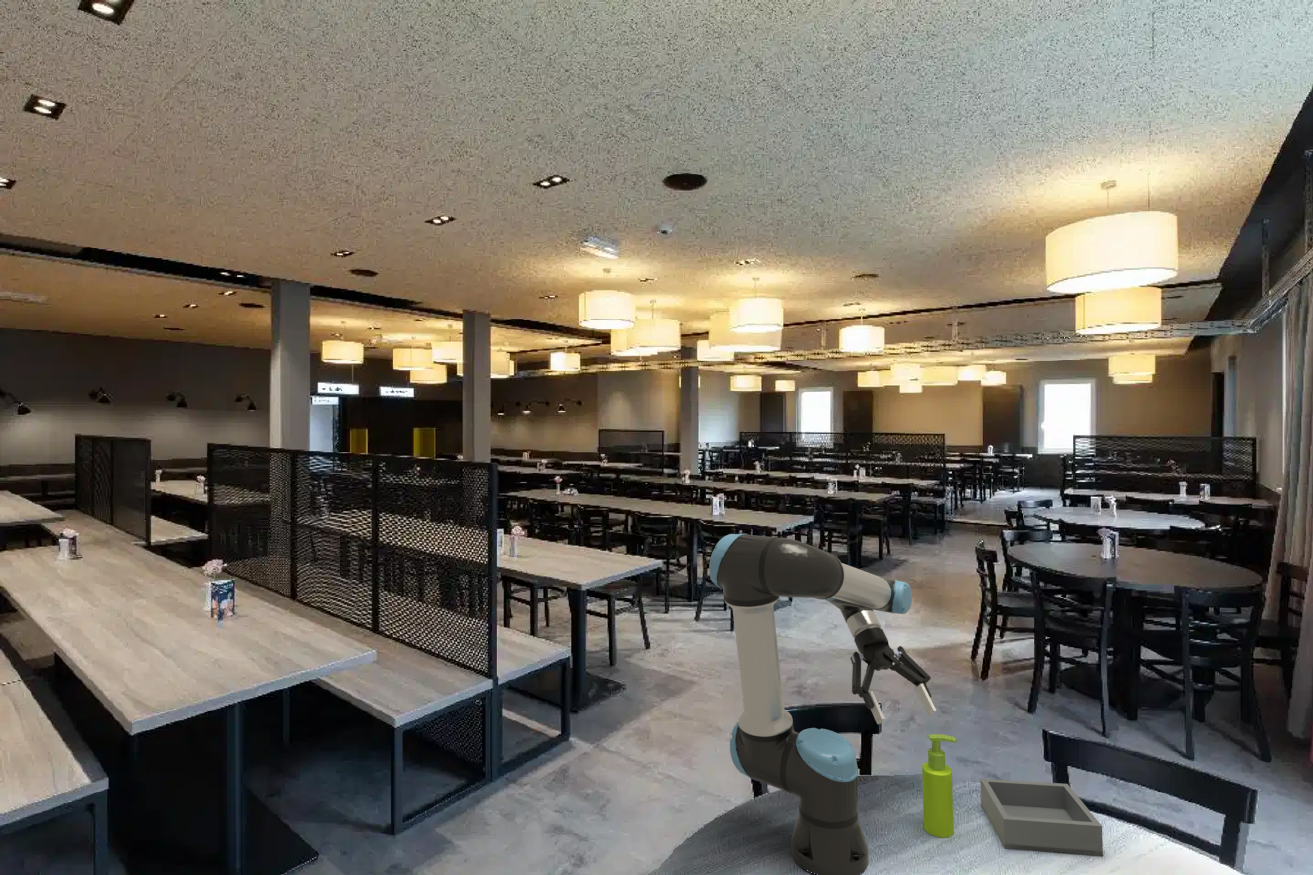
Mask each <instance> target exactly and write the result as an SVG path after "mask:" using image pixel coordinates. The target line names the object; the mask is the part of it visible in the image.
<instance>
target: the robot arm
mask: <svg viewBox="0 0 1313 875" xmlns="http://www.w3.org/2000/svg"><path fill="white" fill-rule="evenodd" d="M708 566H709V572H708V573H709V577H710V580H711V582H712V583H713V585H715V586H716V587H718V588H720V589H722V591H723V598H724V602H725V604H726V605H728V606H729V607H730V608H731V609H732V614H733V623H734V624H733V625H734V632H735V633H734V634H735V642H736V643H735V644H736V650H737V660H738V669H739V670H738V671H739V678H740V685H741V686H740V687H741V697H742V703H743V704H742V705H743V712H742V713H741V714H740V716H738V721H736V723H735V724H734V726H733V728H732V731H731V733H730V734H731V736H732V737H731V738H730V740H729V754H730V758H731V760H732V763H733V765H734V767H735V768H736V770H737V771H738V772H739V773H740V774H742V775H744V776H746V777H748V778H750V779H752V780H754V781H755V782H762V783H764V784H765V785H769V786H771V787H773V788H776V789H779V790H780V791H781V790H782V791H784V792H787V793H789V794H792V795H794V796H796V797H798V815H797V818H796V821H795V825H794V827H793V828H794V829H793V831H792V835H791V837H790V850H791V852H790V853H791V856H792V858H793V860H794V862H795V861H796V862H797V863H796V862H795V863H796V864H797V865H798V866H799V867H800V866H801V867H800V868H802V869H803V870H804V869H805V871H806V870H808V871H809V872H808V871H807V872H808V873H810V872H812V873H815V874H818V875H861V874H862V873H863V872H865V870H866V869H867V867H868V865H869V860H870V859H869V847H868V846H869V845H868V842H867V841H866V837H865V834H864V831H863V829H862V826H861V823H860V820H859V798H858V797H859V796H858V794H859V793H858V787H859V786H858V773H859V767H858V764H857V763H858V762H857V761H858V760H857V754H856V750H855V748H854V747H853V744H852V743H851V742H850V741H849V740H848V739H847V738H846V737H844V736H843V735H841V734H839V733H837V732H835V731H833V730H830V729H826V728H820V729H819V728H816V727H811V728H806V729H803V730H801V731H800V732H797V731H795V729H794V722H793V721H794V720H793V717H792V715H791V713H790V712H789V711H787V710H786V709H785V704H784V703H785V702H784V695H783V694H784V693H783V684H782V676H781V675H782V674H781V667H780V657H779V656H780V655H779V647H778V645H779V644H778V638H777V629H776V628H777V626H776V618H775V608H774V605H776V603H777V602H778V601H779V599H780V597H781V598H807V599H809V598H810V599H811V598H812V599H816V600H825V601H827V602H828V603H830V604H832V605H833V606H834V607H836V608H838V609H839V610H840V612H841V614H842V618H843V619H844V621H845V623H846V625H847V628H848V630H849V632H850V634H851V636H852V638H853V642H854V644H855V645H856V647H857V650H858V651H854V652H853V653H852V654H851V656H850V660H851V664H852V674H851V694H853V695H855V696H856V695H858V697H859V698H861V699H863V702H864V703H865V706H866V708H867V709H868V710H870V711H871V713H872V715H873V718H874V720H875V722H876V724H877V725H881V724H882V723H883V721H885V719H886V717H885V716H884V713H883V711H882V708H881V707H880V704H879V702H878V700H877V698H876V696H875V693H874V691H873V690H871V691H870V687H871V683H872V682H873V681H872V680H873V677H874V674H875V671H876V672H879V671H882V670H885V671H886V670H891V671H893V672H895V673H897V674H899V675H900V676H901V677H902V678H904V679H906V680H907V681H909V682H910V683H911V684H913V685H914V686H916V688H914V690H915V692H916V694H917V696H918V698H919V700H920V701H921V702H920V703H921V704H922V706H923V708H924V709H925V712H926V714H927V716H929V717H931V716H932V715H934V714H935V712H937V708H936V707H935V705H934V703H933V701H932V693H931V692H930V690H929V688H928V686H927V684H928V682H929V681H930V680H931V679H932V678H931V675H929V674H928V673H927V672H926V671H925V670H924V669H923V668H922V667H921V666H920V665H919V664H918V663H917V662H916V661H915V660H914V659H913V658H912V657H911V656H910V655H908V653H907V652H906V650H905V649H904V647H903V646H902V645H899V646H898V647H896V648H891V646H890V645H889V639H888V638H887V635H886V634H885V632H884V630H883V628H882V625H881V623H880V621H879V619H878V617H877V615H876V614H875V612H874V611H878V612H884V613H891V614H894V615H895V614H897V615H898V614H899V615H906V614H907V613H908V612H909V611H910V608H911V607H912V602H913V601H912V600H913V593H912V588H911V586H910V584H909V583H908V582H906V581H900V580H897V579H894V580H892V579H887V578H884V577H881V576H878V575H877V574H876V575H875V574H873V573H870V572H867V571H864V570H862V569H858V568H856V567H854V566H851V565H849V564H845V563H842V562H841V560H840V559H839V558H838V557H837V556H836V555H835V554H832V553H830V552H827V551H824V550H823V549H820V548H818V547H815V546H813V545H810V544H807V543H805V542H802V541H799V540H796V539H792V538H788V537H787V538H786V537H776V536H774V537H773V536H764V535H753V534H748V533H742V534H741V533H738V534H737V533H736V534H735V533H729V534H727V535H725V536H723V537H722V538H721V539H719V541H718V542H717V543H716V545H715V547H714V549H713V550H712V553H711V556H710V560H709V565H708ZM862 662H864V663H865V664H867V666H866V670H865V674H864V677H863V681H862ZM812 873H811V874H812Z"/></svg>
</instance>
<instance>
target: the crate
mask: <svg viewBox="0 0 1313 875" xmlns="http://www.w3.org/2000/svg"><path fill="white" fill-rule="evenodd" d="M979 779H980V780H979V782H980V806H981V808H982V809H983V811H984V813H985V815H986V816H987V819H988V820H989V823H990V824H991V826H992V828H993V830H994V831H995V834H996V835H997V838H998V839H999V841H1000V843H1001V844H1002V846H1003V848H1004V849H1006V850H1016V851H1017V850H1018V851H1027V852H1028V851H1030V852H1042V853H1043V852H1045V853H1053V854H1054V853H1057V854H1068V855H1078V856H1079V855H1082V856H1093V857H1103V856H1104V848H1103V846H1104V845H1103V844H1104V842H1103V825H1102V824H1101V823H1100V822H1099V820H1098V819H1097V818H1096V817H1095V816H1094V814H1093V812H1091V810H1090V809H1089V808H1088V807H1087V805H1086V804H1084V802H1083V801H1082V800H1081V799H1080V798H1079V796H1078V795H1077V794H1076V792H1075V791H1074V790H1073V789H1072V788H1071V786H1070V785H1069V784H1068V783H1058V782H1057V783H1056V782H1045V781H1043V782H1042V781H1026V780H1025V781H1023V780H1013V779H1012V780H1009V779H1008V780H1007V779H997V778H995V779H993V778H979Z"/></svg>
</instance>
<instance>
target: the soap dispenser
mask: <svg viewBox="0 0 1313 875" xmlns="http://www.w3.org/2000/svg"><path fill="white" fill-rule="evenodd" d="M927 737H928V739H929V742H931V748H929V749H928V750H927V760H928V761H927V762H924V763H923V764H922V765H921V770H922V771H921V772H922V780H921V781H922V807H923V808H922V812H923V828H924V831H925V832H926V833H927V834H929V835H930V836H933V837H937V838H940V839H941V838H942V839H945V838H951V837H952V836H953V835H954V832H955V831H954V830H955V829H954V828H955V827H954V799H953V798H954V797H953V796H954V795H953V793H954V792H953V769H952V768H951V767H950V766H949V765H947V764H946V752H945V751H944V750H943V749H941V747H942V746H941V742H949V743H953V744H956V743H957V742H958V740H957V739H956V737H954V736H951V735H948V734H942V733H941V734H939V733H938V734H937V733H934V734H933V733H932V734H930V733H929V734H927Z"/></svg>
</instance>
